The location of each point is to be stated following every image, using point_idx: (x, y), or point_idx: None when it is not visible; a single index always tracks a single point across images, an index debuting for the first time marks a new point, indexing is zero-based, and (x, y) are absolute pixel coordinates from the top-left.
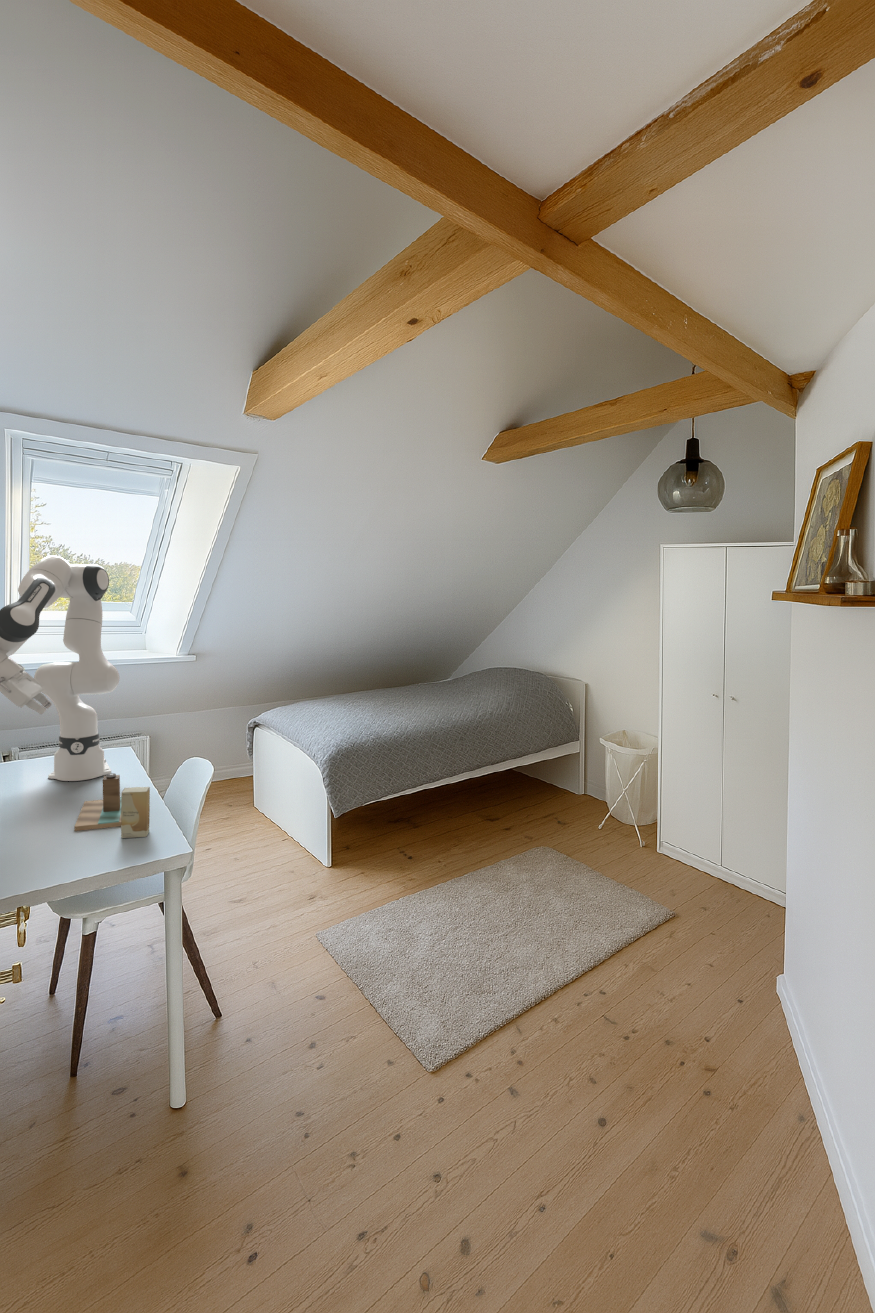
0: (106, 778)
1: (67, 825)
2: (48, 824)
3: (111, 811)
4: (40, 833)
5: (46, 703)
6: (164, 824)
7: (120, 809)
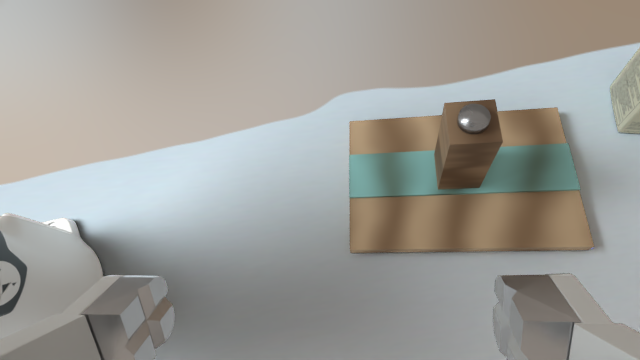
0: (485, 132)
1: None
2: None
3: None
4: None
5: (141, 324)
6: (561, 63)
7: None
